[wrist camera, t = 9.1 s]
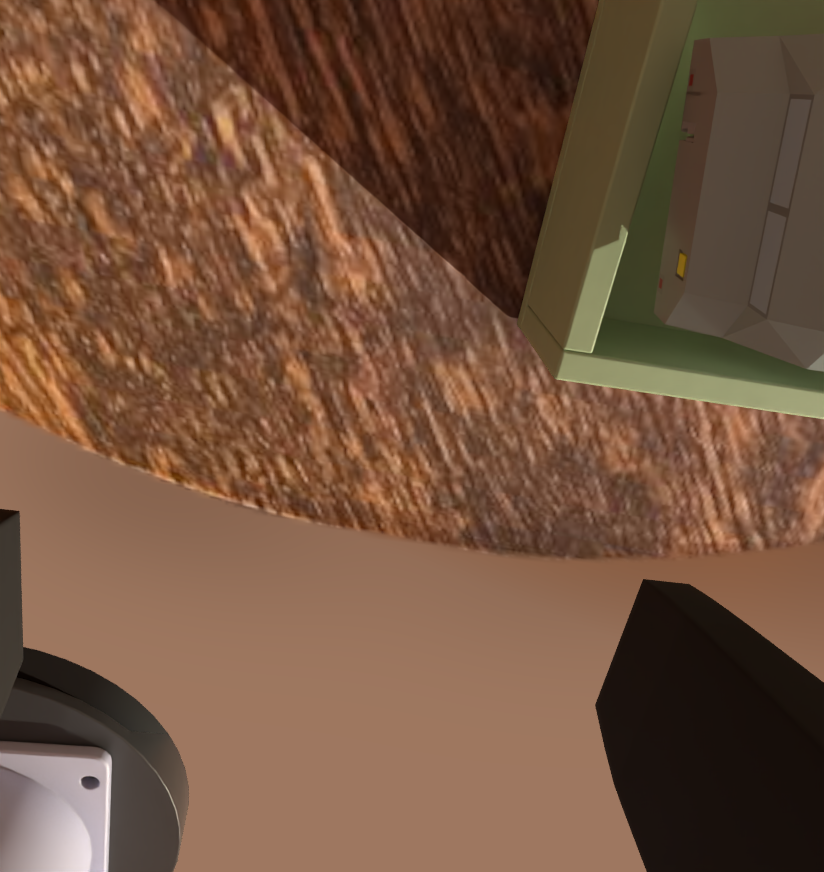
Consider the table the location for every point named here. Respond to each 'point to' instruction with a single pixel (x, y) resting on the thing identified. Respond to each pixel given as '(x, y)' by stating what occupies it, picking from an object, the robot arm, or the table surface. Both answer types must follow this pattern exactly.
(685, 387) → the tote
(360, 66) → the table surface
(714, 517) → the table surface
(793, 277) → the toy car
